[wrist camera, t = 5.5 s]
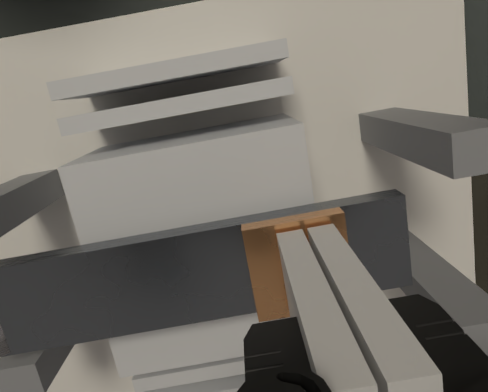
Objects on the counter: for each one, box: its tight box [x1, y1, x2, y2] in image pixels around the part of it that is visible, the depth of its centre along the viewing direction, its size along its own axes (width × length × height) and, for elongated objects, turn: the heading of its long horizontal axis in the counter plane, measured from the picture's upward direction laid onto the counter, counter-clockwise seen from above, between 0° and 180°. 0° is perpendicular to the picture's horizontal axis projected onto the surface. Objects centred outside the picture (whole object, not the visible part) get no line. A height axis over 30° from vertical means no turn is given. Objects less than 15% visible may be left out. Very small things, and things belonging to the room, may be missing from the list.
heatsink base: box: [0, 0, 488, 392], centre depth 16 cm, size 24×18×9 cm
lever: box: [0, 189, 413, 357], centre depth 13 cm, size 14×3×2 cm, turn 100°
